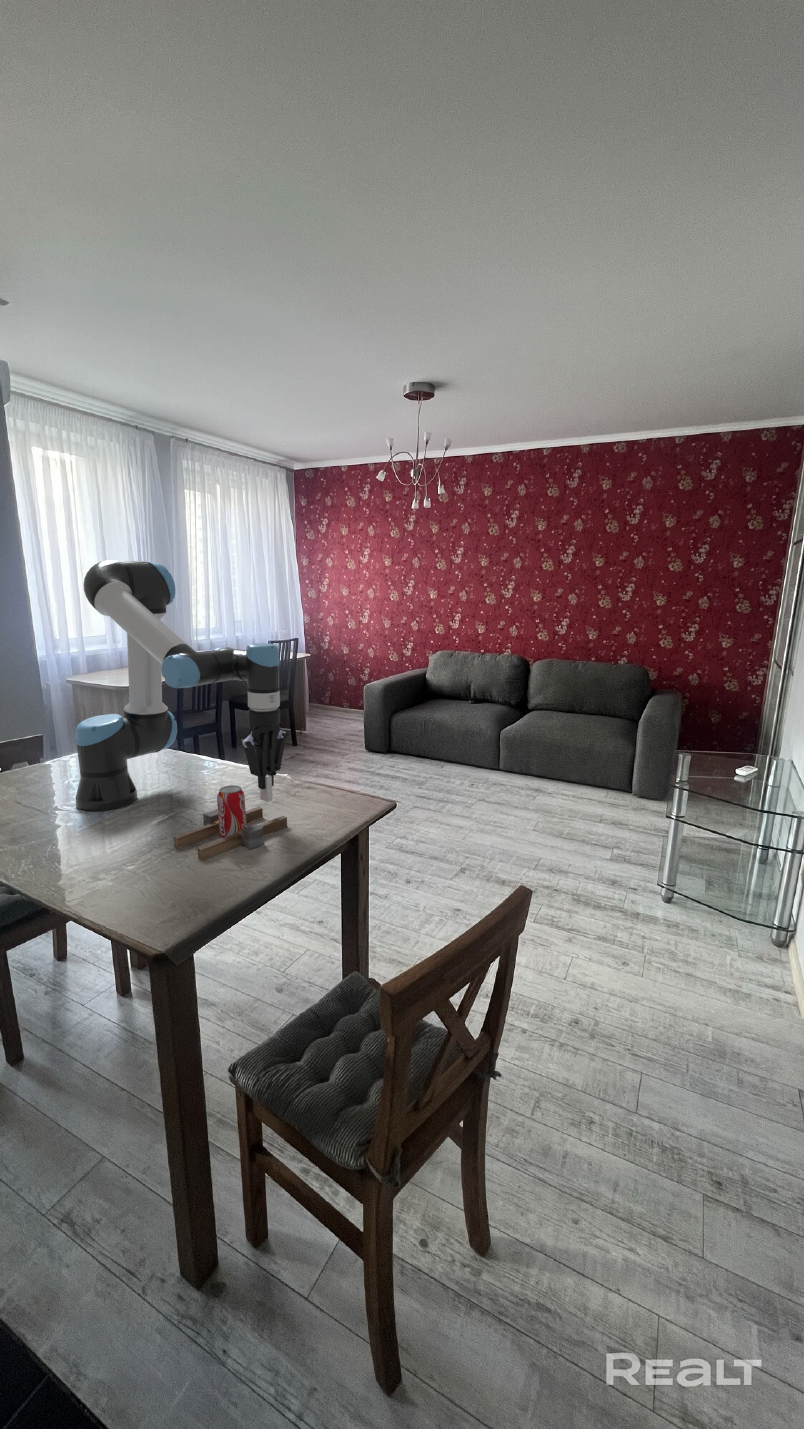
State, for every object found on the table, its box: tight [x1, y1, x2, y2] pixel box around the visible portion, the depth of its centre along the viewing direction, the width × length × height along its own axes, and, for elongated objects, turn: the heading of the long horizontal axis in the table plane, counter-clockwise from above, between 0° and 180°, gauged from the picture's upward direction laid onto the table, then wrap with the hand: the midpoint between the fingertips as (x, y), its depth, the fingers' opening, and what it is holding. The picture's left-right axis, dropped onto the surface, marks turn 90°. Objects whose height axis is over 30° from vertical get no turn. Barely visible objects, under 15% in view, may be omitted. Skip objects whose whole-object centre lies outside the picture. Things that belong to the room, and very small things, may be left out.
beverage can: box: [216, 784, 248, 839], centre depth 139 cm, size 6×6×12 cm
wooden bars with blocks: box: [173, 806, 288, 861], centre depth 141 cm, size 18×24×4 cm
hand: (266, 799), depth 148 cm, fingers closed
